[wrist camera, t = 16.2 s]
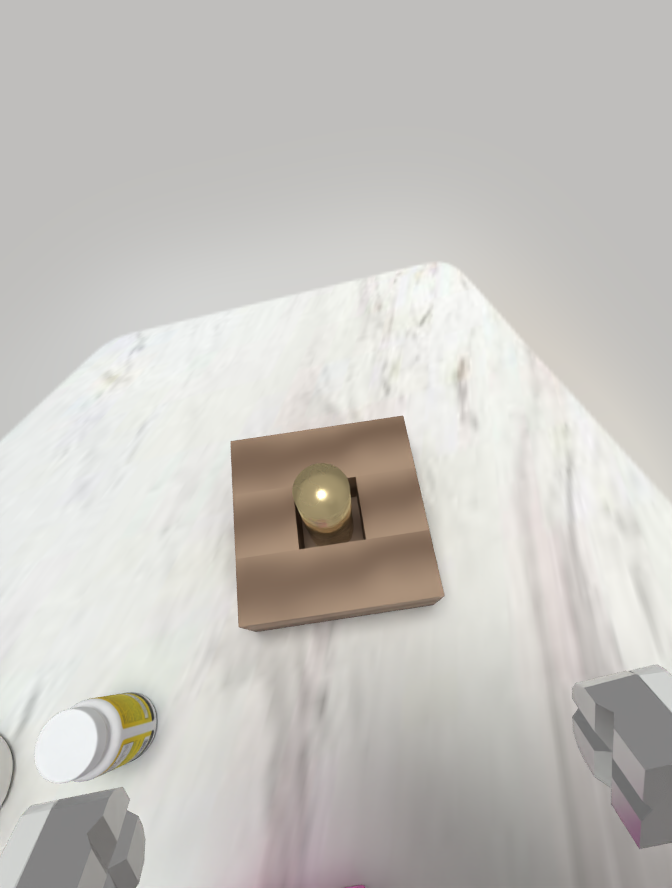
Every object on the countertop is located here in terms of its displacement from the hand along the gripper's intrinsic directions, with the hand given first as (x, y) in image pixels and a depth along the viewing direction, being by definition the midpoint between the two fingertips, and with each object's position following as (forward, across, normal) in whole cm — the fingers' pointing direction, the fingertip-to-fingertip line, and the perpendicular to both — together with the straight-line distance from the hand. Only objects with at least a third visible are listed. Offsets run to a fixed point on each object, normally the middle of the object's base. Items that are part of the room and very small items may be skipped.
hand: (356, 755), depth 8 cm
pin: (+30, 0, +13) cm, 33 cm away
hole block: (+31, 0, +14) cm, 34 cm away
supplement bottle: (+23, +19, +22) cm, 37 cm away
